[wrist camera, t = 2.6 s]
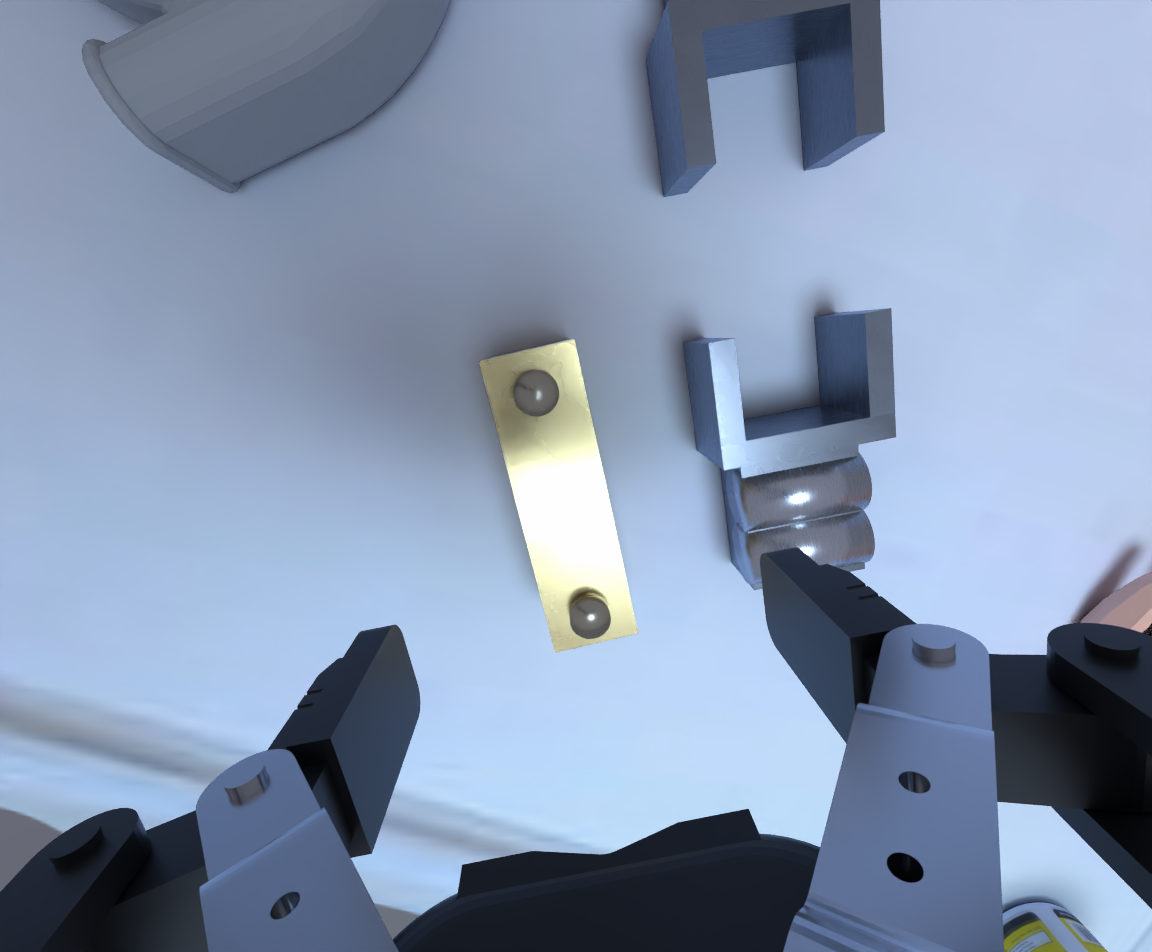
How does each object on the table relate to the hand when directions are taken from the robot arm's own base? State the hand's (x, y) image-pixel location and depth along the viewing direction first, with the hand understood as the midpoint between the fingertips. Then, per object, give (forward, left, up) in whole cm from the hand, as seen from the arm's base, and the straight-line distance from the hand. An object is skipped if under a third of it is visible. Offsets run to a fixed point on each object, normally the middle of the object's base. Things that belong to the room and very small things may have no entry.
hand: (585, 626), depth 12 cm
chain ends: (+10, +8, -14) cm, 19 cm away
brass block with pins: (0, 0, -14) cm, 14 cm away
